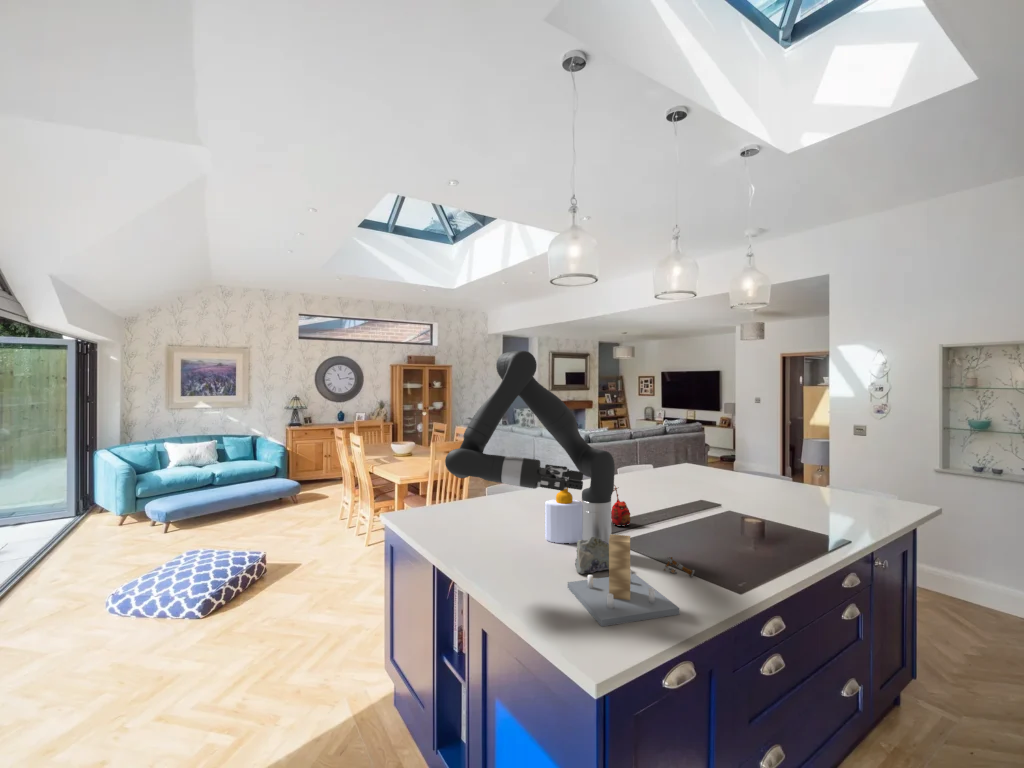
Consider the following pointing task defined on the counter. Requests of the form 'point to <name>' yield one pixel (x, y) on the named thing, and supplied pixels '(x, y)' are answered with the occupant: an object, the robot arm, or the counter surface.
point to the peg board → (621, 601)
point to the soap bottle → (563, 519)
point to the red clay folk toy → (620, 512)
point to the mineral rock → (592, 555)
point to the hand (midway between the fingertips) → (582, 480)
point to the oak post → (619, 566)
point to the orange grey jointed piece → (677, 566)
